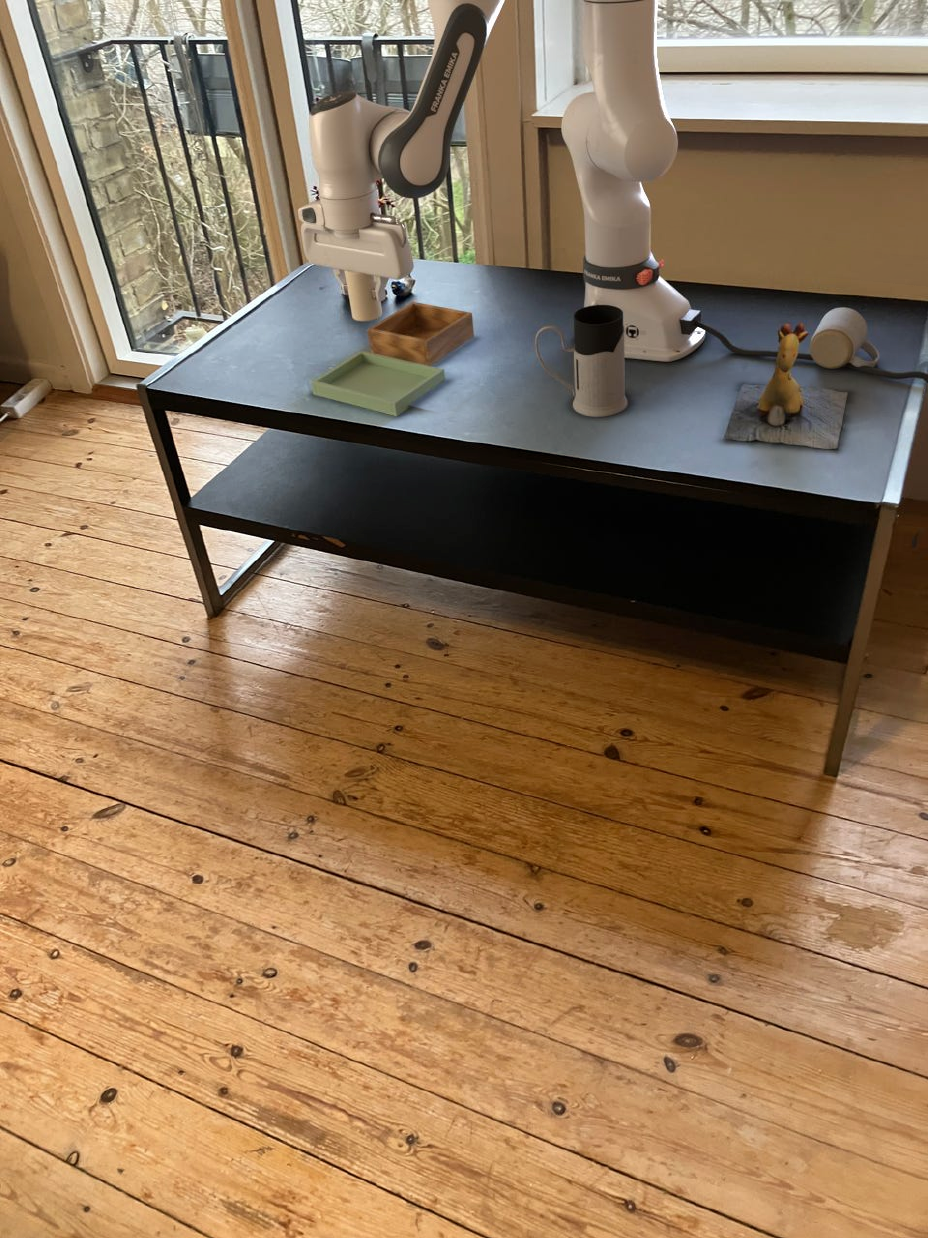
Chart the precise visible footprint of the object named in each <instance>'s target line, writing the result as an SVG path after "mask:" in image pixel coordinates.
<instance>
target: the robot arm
mask: <svg viewBox="0 0 928 1238" xmlns="http://www.w3.org/2000/svg"><path fill="white" fill-rule="evenodd" d="M505 1H506V0H427V5H428V10H429V12H430V15H431V19H432V24H433V32H434V43H433V51H432V55H431V58H430V61H429V64H428V67H427V70H426V73H425V74H424V78H423V80H422V82H421V85H420V88H419V91H418V93H417V96H416V99H415V101H414V104H413V106H412V108H411V110H410V111H409V110H408V109H405V108H402V107H394V106H389V105H383V104H379V103H376V102H373V101H370V100H369V99H366V98H364V97H362V96H361V95H359V94H358V93H357V92H355V91H348V90H347V91H346V90H345V91H342V92H335V93H332V94H330V95H327V96H325V97H323V98H321V99H320V100H318V102H316V103H315V104H314V105H313V106H312V108H311V110H310V112H309V117H308V130H309V131H308V134H309V142H310V150H311V157H312V162H313V166H314V169H315V171H316V173H317V176H318V177H317V178H318V197H319V198H317V199H315V200H313V201H310V202H309V203H307V204H305V205H303V206H301V207H299V208H298V210H297V215H298V218H299V221H300V222H301V226H300V234H301V235H300V236H301V242H302V247H303V252H304V256H305V258H306V259H307V261H308V262H309V264H311V265H313V266H319V267H324V268H325V267H327V268H331V269H332V271H333V275H334V276H335V278H336V280H337V282H338V283H339V284H340V285H341V292H342V294H343V295H344V296H349V294H348V288H347V282H346V276H345V270H350V271H355V272H361V273H363V274H369V275H373V276H374V281H376V282H377V285H376V288H375V289H373V290H371V294H372V299H373V300H375V301H380V302H381V303H382V302H383V301H384V300H385V299H386V298H387V293H386V287H387V284H388V282H389V279H391V280H398V281H399V280H403V279H404V278H406V277H408V276H409V275H410V274H412V272H413V270H414V269H415V268H414V267H415V266H414V265H415V264H414V258H413V253H412V249H411V245H410V241H409V238H408V235H407V231H406V226H405V224H404V223H403V222H401V221H400V220H399V219H398V217H396V216H395V215H385V214H381V212H380V211H381V210H380V205H379V198H378V190H377V185H376V183H377V181H379V180H383V181H384V182H385V184H386V185H387V187H388V188H389V189H390V190H391V191H392V192H393V193H394V194H396V195H398V196H399V197H402V198H406V199H410V200H411V199H422V198H424V197H428V196H429V195H431V194H433V193H434V192H435V191H436V190H438V188H439V187H440V186H441V185H442V184H443V183H444V181H445V179H446V177H447V175H448V172H449V169H450V162H451V149H452V148H451V147H452V140H453V139H452V138H453V133H454V129H455V127H456V124H457V121H458V118H459V117H460V113H461V112H462V108H463V105H464V104H465V101H466V98H467V95H468V92H469V91H470V88H471V85H472V82H473V81H474V77H475V75H476V72H477V70H478V67H479V64H480V61H481V59H482V55H483V52H484V49H485V46H486V44H487V42H488V40H489V37H490V34H491V31H492V29H493V27H494V24H495V22H496V20H497V18H498V16H499V14H500V13H501V12H500V11H501V9H502V7H503V5H504V3H505ZM657 18H658V0H582V57H583V61H584V64H585V66H586V68H587V71H588V72H589V75H590V78H591V82H592V87H593V91H588V92H583V93H581V94H578V95H576V97H574V98H573V99H572V100H571V101H570V102H569V104H568V105H566V107H565V110H564V113H563V115H562V119H561V125H560V126H561V136H562V138H563V141H564V144H565V145H566V147H567V149H568V151H569V154H570V156H571V159H572V165H573V167H574V172H575V177H576V181H577V185H578V189H579V190H578V191H579V194H580V199H581V203H582V212H583V222H584V244H585V245H584V247H585V248H584V251H585V253H584V254H585V255H584V256H583V259H582V263H583V264H582V279H583V284H584V287H585V289H584V302H583V308H584V307H587V306H592V305H611V306H615V307H618V308H620V309H621V310H622V311H623V326H624V359H633V360H634V359H636V360H645V361H655V362H664V363H665V362H673V361H678V360H680V359H682V358H684V357H686V356H688V355H689V354H692V353H693V352H694V351H696V350H697V349H698V348H699V347H700V346H701V345H702V344H703V342H704V340H705V339H706V332H707V333H709V334H710V335H712V336H714V337H716V338H717V339H718V340H719V341H720V342H721V343H722V345H723V346H724V347H725V348H726V349H728V350H729V351H730V352H733V353H735V354H738V355H743V356H751V357H771V358H777V355H778V350H769V349H746V348H741V347H738V346H736V345H733V344H732V343H731V342H730V341H729V340H728V339H727V337H726V336H725V335H724V334H723V333H722V332H720V331H719V330H717V329H716V328H713V327H712V326H710V325H708V324H707V323H704V322H702V320H701V319H702V311H701V310H696V309H692V307H691V304H690V302H689V300H688V299H687V298H686V297H684V296H683V295H682V294H681V293H679V292H678V290H676V289H675V288H674V287H673V286H672V285H670V284H669V282H667V281H666V280H665V279H664V278H662V276H661V274H660V269H662V268H663V267H664V266H665V264H664V262H665V258H662V259H660V260H659V261H658V262H657V260H656V259H655V257H654V254H653V252H652V251H651V238H652V237H651V236H652V235H651V234H652V231H651V230H652V208H651V204H650V202H649V199H648V197H647V195H646V193H645V191H644V188H643V185H642V183H650V182H651V183H652V182H653V181H654V182H655V181H656V180H658V179H660V178H662V177H663V176H664V175H665V174H666V173H667V172H668V171H669V170H670V169H671V167H672V165H673V163H674V162H675V159H676V155H677V153H678V149H679V139H678V133H677V131H676V128H675V126H674V125H673V122H672V121H671V119H670V116H669V114H668V111H667V108H666V104H665V100H664V95H663V94H664V93H663V90H662V84H661V78H660V72H659V66H658V57H657V21H658V19H657ZM796 360H806V361H814V360H813V358H812V356H811V354H810V353H805V352H798V355H797V357H796ZM814 362H815V361H814ZM843 368H849V369H853V370H858V371H861V372H865V373H866V374H870V375H874V376H877V377H878V376H879V377H883V378H887V379H891V380H892V379H894V380H903V379H904V380H905V379H914V378H916V379H921V380H923V381H925V382H926V383H927V384H928V373H926V372H924V371H918V370H917V371H916V370H912V371H903V372H902V371H901V372H896V371H889V370H883V369H880V368H875V367H869V366H860V367H856V366H854V365H852V364H851V363H847V364H845V365H844V366H843ZM919 534H920V530H917V532H916V533H915V535H914V537H913V538H912V540H911V541H910V548H912V549H915V548H917V546H918V540H919Z"/></svg>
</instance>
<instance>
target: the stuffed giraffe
mask: <svg viewBox="0 0 928 1238" xmlns="http://www.w3.org/2000/svg"><path fill="white" fill-rule="evenodd" d="M777 335H778V343H779V344H778V350H777V351H778V355H777V357H776V360H775V366H774V371H773V373H772V375H771V377H770V378H769V380H768V382H767V384H766V385H763V384H748V383H742V385H741V388H740V390H739V392H738V394H737V395H738V396H737V398H736V401H735V403H734V405H733V409H732V411H731V414H730V418H729V420H728V424H727V426H726V430H725V433H724V436H723V439H726V440H733V441H734V440H735V441H739V442H752V441H755V440H758V441H759V442H766V443H773V444H775V443H783V444H786V445H796V446H806V447H809V448H817V449H823V450H831V449H833V450H834V449H837V448H838V445H839V440H840V436H841V435H840V434H841V429H842V424H843V419H844V413H845V408H846V403H847V398H848V392H846V391H845V392H844V391H843V392H842V391H836V390H835V389H831V388H830V389H829V388H824V387H822V386H821V387H817V386H814V387H805V386H800V385H799V384H798V382H797V381H796V380H795V379H794V377H793V376H792V374H791V369H792V368H793V367H794V364H795V362H796V360H797V359H796V357H797V355H798V353H799V350H800V349H799V348H800V343H802V342H804V340H805V339H806V338H807V337H808V336H809V331H805V324H803V323H802V322H800V323H798V324H797V325H796V326H795V327H794V330H793V331H792V327H791V325H790V324H789V323H783V324H782V325H781V327H780V328H779V329H778V330H777Z"/></svg>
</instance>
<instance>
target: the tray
mask: <svg viewBox="0 0 928 1238" xmlns="http://www.w3.org/2000/svg"><path fill="white" fill-rule="evenodd" d="M445 380H446V376H445V368H440V367H435V366H427V365H423V364H418V363H414V362H409V361H405V360H401V359H396V358H392V357H387V356H383V355H378V354H374V353H371V351H370V352H369V351H365V350H360V351H359V352H357V353H355V354H353V355H352V356H350V357H349V358H347V359H345V360H344V361H342V362H341V363H339V364H337V365H336V366H334V367H333V368H331V369H329V370H328V371H327V372H325V373H323V374H321V375H320V376H318V377H317V378H315V379H314V380H312V381H311V383H310V385H311V388H312V393H313V395H314V396H317V397H321V398H325V399H329V400H332V401H337V402H339V403H344V404H348V405H352V406H355V407H359V408H363V409H367V410H371V411H374V412H378V413H383V414H385V415H390V416H393V417H399V416H400V415H402V413H404V412H405V411H407V410H408V409H409V408H411V407H412V405H411V404H412V403H414V402H415V401H417V400H418V399H419V398H421V397H423V396H424V395H426V394H427V393H428V392H429V391H431V390H432V389H434V388H435V387H436V386H438V385H439V384H441V383H442V382H444V381H445Z"/></svg>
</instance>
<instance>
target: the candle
mask: <svg viewBox="0 0 928 1238" xmlns="http://www.w3.org/2000/svg"><path fill="white" fill-rule="evenodd" d="M345 276H346V282H347V288H348V294H349V295H348V299H349V305H350V312H351V317H352V319H353V320H354V321H357V322H370V321H374V320H377V319H379V318H380V317H382V316H383V308H382V301H381V302H380V301H375V300H373V299H372V294H371V290H373V289H375V288H376V285H377V282H376V281H374V276H373V275H369V274H363V273H361V272H355V271H350V270H345Z"/></svg>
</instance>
